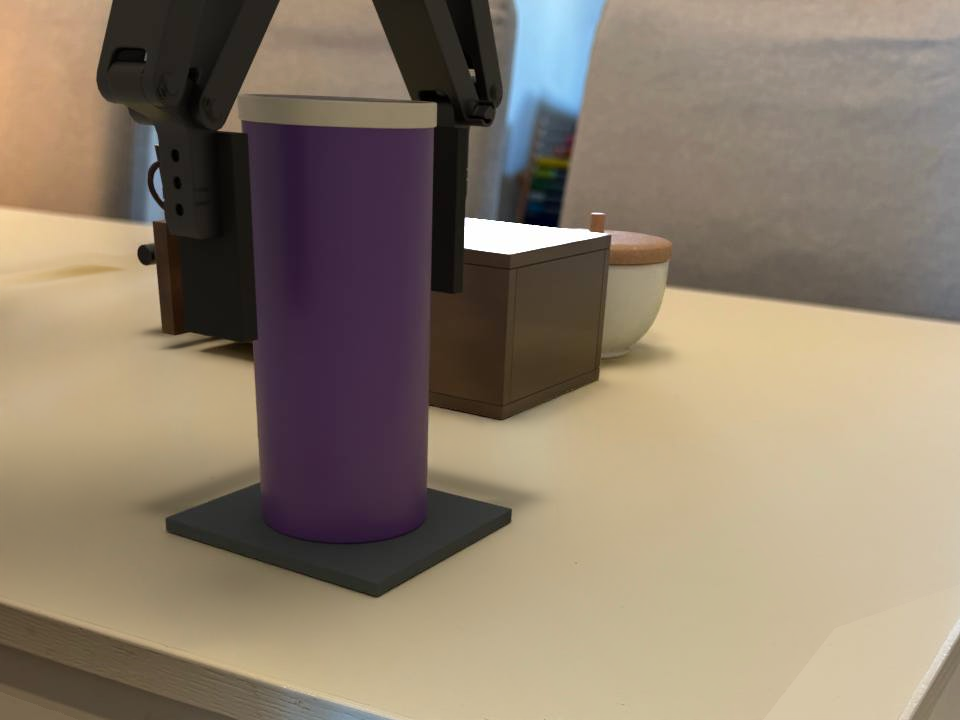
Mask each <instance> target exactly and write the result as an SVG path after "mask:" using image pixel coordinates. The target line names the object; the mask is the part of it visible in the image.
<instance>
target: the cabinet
mask: <svg viewBox="0 0 960 720" xmlns="http://www.w3.org/2000/svg"><path fill="white" fill-rule="evenodd" d="M568 229H569V228H560V227H559V228H558V227H549V226H540V225H532V224H523V223H515V222H505V221H496V220H488V219H478V218H470V217H465V235H464V265H463V292H461V293H456V294H449V293H442V292H436V291H431V311H430V364H429V405H430V406H434V407H440V408H444V409H448V408H449V410H453V409H454V411H458V410H459V412H463V411H464V412H463V413H468V412H470V413H469V414H472V413H473V414H474V415H477V414H479V416H482V415H484V416H483V417H487V418H491V417H492V418H493V419H496V418H497V420H505V419H506V418H510V417H512V416H514V415H516V414H519V413H521V412H524V411H525V410H528V409H531V408H534V407H536V406H538V405H540V404H542V403H545V402H547V401H550V400H552V399H555V398H557V397H559V395H560V396H562V395H564V394H566V393H565V392H567V391H569V392H571V391H570V390H572V389H574V390H576V389H579V388H581V387H584V386H586V385H588V384H591V383H593V382H595V381H597V380H599V379H600V371H601V361H602V358H601V349H602V338H603V327H604V316H605V305H606V293H607V282H608V271H609V260H610V247H611V237H612V236H611V234H603V233H594V232H585V231H577V230H568ZM578 387H579V388H578ZM575 388H576V389H575ZM572 391H573V390H572ZM563 393H564V394H563ZM567 393H568V392H567ZM561 394H562V395H561ZM556 396H557V397H556ZM554 397H555V398H554Z"/></svg>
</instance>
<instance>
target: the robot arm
mask: <svg viewBox="0 0 960 720" xmlns="http://www.w3.org/2000/svg"><path fill="white" fill-rule="evenodd" d="M280 2H281V0H112V2H111V7H110V11H109V16H108V19H107V23H106V29H105V33H104V38H103V42H102V47H101V52H100V56H99V59H98V64H97V68H96V77H95V81H96V86H97V89H98V92H99V93H100V95H101V97H102V98H103V99H104V100H105V101H106V102H108V103H111V104H114V105H115V104H116V105H123V106H125V107H127V110H128V113H129V116H130V117H131V119H132V120H133V121H134V122H135V123H137V124H138V125H143V126H153V127H154V129H155V132H156V136H157V144H158V143H159V155H160V167H161V176H160V180H161V179H162V182H161V186H162V185H163V187H162V188H161V190H162V199H163V200H162V201H163V203H164V210H163V214H164V220H165V221H166V223H167V226H168V229H169V231H170V234H171V235H177V236H178V243H179V255H180V268H181V281H182V293H183V306H184V318H185V331H186V332H190V333H191V334H196V335H200V336H206V337H212V338H216V339H222V340H226V341H231V342H236V343H239V344H240V343H242V344H245V343H248V342H250V341H254V340H258V328H257V308H256V288H255V268H254V248H253V228H252V208H251V188H250V167H249V147H248V133H242V132H237V131H227V130H221V129H223V127H224V126H225V124H226V123H227V120H228V118H229V115H230V114H231V111H232V109H233V107H234V104H235V102H236V101H237V96H238V94H240V90H241V89H242V87H243V84H244V82H245V80H246V77H247V75H248V74H249V71H250V69H251V67H252V64H253V62H254V60H255V58H256V55H257V53H258V51H259V48H260V46H261V45H262V42H263V39H264V37H265V36H266V33H267V30H268V29H269V26H270V24H271V22H272V19H273V16H274V15H275V13H276V11H277V9H278V6H279V4H280ZM371 2H372V4H373V6H374V9H375V12H376V14H377V18H378V20H379V22H380V24H381V27H382V30H383V32H384V35H385V37H386V39H387V42H388V44H389V47H390V49H391V53H392V55H393V58H394V60H395V62H396V64H397V67H398V70H399V72H400V75H401V77H402V80H403V82H404V85H405V88H406V90H407V93H408V95H409V97H410V100H414V101H427V102H435V103H437V126H436V127H434V154H433V207H432V259H431V291H436V292H442V293H449V294H456V293H461V292H463V265H464V235H465V218H466V203H467V202H466V201H467V197H468V182H469V181H468V178H469V170H468V168H469V148H470V147H469V146H470V130H471V127H479V128H480V127H481V128H489V127H491V126H492V125H493V123H494V121H495V119H496V114H497V111H496V110H497V109H498V108H499V107H500V105H501V103H502V100H503V96H504V95H503V94H504V89H503V81H502V74H501V69H500V63H499V58H498V51H497V46H496V40H495V32H494V25H493V21H492V20H493V19H492V15H491V9H490V2H489V0H371ZM145 58H146V59H145ZM470 70H473V71H474V75H471V73H470ZM190 333H189V334H190Z"/></svg>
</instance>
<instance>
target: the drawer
mask: <svg viewBox="0 0 960 720" xmlns="http://www.w3.org/2000/svg"><path fill="white" fill-rule="evenodd" d="M152 233H153V243H146V244H140V245H139V246H138V248H137V251H136V254H137V259H138V261H139V262H140V264H142V265H143V266H144V267H145V266H153V265H154V266H156V267H155V268H156V276H157V277H156V278H157V289H158V299H159V301H158V302H159V310H160V311H159V312H160V321H161V323H160V324H161V331H162V332H161V333H162V334H163V335H164V334H165V335H169V336H173V337H174V336H179V335H180V336H181V335H185V334H188V333H189V334H190V332H186V331H185V318H184V306H183V293H182V281H181V268H180V255H179V243H178V236H177V235H171V234H170V231H169V229H168V226H167V223H166V221H165V219H160V220H159V219H158V220H152ZM248 343H249V344H253V341H250V342H247V344H248Z"/></svg>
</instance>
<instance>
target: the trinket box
mask: <svg viewBox="0 0 960 720" xmlns="http://www.w3.org/2000/svg"><path fill="white" fill-rule="evenodd" d="M606 217H607V214H606V213H604V212H591V213H590V221H589V222H590V224H589V228H567V229H568V230H577V231H585V232H594V233H603V234H611V236H612V237H611V247H610V260H609V271H608V282H607V293H606V305H605V316H604V327H603V338H602V349H601V359H611V358H619V357H623V356H627V355H628V354H629V353H630V348H631V347H632V346H634V345H636V343H637V342H639V341H640V340H641V339H642V338H643V337H644V336H645V335H646V334H647V333H648V332H649V330H650V329H651V327H652V326H653V324H654V323H655V320H656V319H657V317H658V315H659V313H660V309H661V306H662V304H663V300H664V296H665V292H666V287H667V281H668V276H669V267H670V266H669V265H670V260H671V258H672V254H673V246H674V244H673V243H672V242H671V241H670V240H669V239H666V238H664V237H660V236H656V235H653V234H652V235H651V234H646V233H641V232H640V233H639V232H633V231H632V232H630V231H623V230H611V229H606Z"/></svg>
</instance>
